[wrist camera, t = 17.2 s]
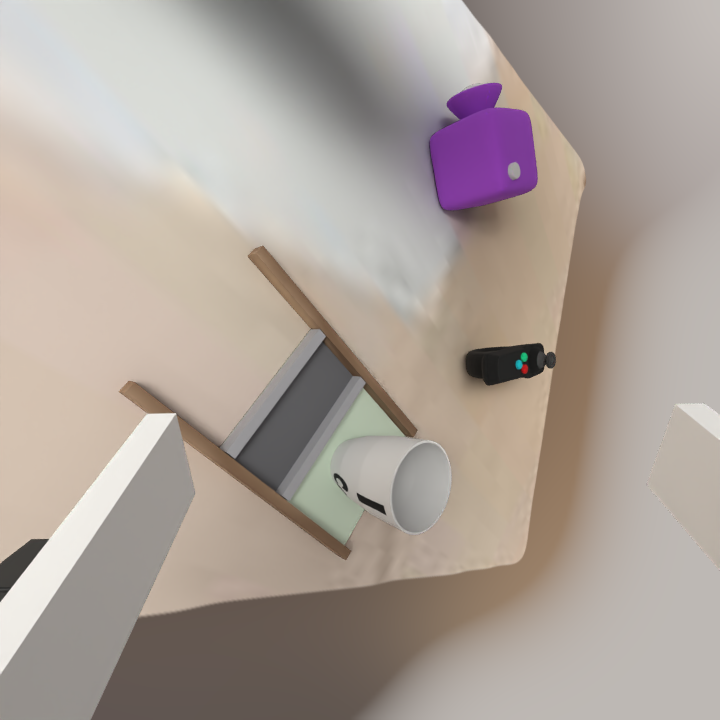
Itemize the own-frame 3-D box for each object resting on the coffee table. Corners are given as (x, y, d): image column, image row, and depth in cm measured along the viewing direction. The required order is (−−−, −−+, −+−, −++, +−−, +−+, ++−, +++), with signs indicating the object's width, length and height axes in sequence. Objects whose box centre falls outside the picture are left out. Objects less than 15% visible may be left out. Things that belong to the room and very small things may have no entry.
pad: (356, 382, 46) (358, 382, 46) (403, 435, 51) (405, 436, 51) (280, 496, 40) (282, 497, 40) (342, 545, 45) (344, 545, 45)
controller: (494, 370, 64) (562, 373, 57) (442, 385, 56) (514, 390, 48) (492, 341, 64) (561, 340, 56) (439, 351, 56) (512, 352, 48)
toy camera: (456, 97, 57) (529, 59, 49) (483, 201, 61) (554, 181, 54) (406, 110, 51) (481, 69, 43) (440, 225, 55) (514, 206, 48)
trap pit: (310, 329, 42) (319, 329, 41) (356, 382, 46) (365, 382, 45) (218, 448, 36) (226, 452, 35) (280, 496, 40) (289, 501, 39)
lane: (254, 248, 38) (263, 245, 37) (407, 428, 52) (417, 430, 51) (118, 391, 31) (124, 393, 30) (336, 554, 45) (346, 560, 44)
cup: (304, 481, 42) (375, 513, 34) (343, 409, 45) (417, 423, 37) (355, 514, 46) (428, 548, 39) (388, 446, 49) (462, 466, 42)
